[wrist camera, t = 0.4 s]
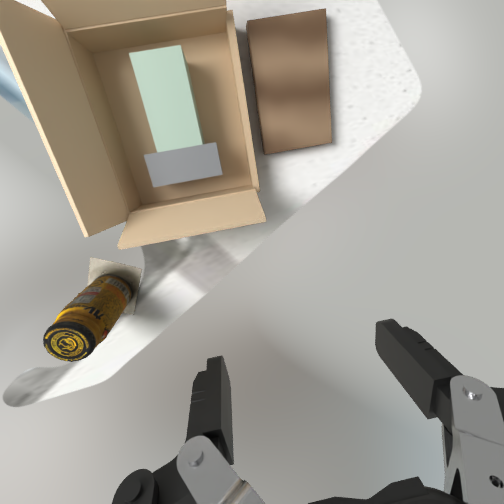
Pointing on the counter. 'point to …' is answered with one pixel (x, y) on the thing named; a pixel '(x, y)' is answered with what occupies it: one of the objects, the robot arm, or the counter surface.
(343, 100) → the counter surface
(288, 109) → the board
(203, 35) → the carton
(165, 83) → the box
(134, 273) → the condiment
